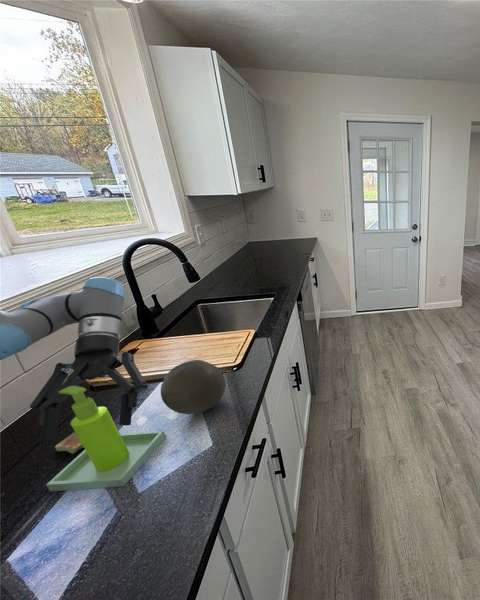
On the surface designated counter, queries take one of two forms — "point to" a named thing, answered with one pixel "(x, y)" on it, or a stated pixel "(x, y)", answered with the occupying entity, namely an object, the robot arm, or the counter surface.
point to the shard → (70, 444)
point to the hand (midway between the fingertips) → (87, 433)
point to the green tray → (87, 477)
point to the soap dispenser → (96, 431)
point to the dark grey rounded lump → (193, 387)
